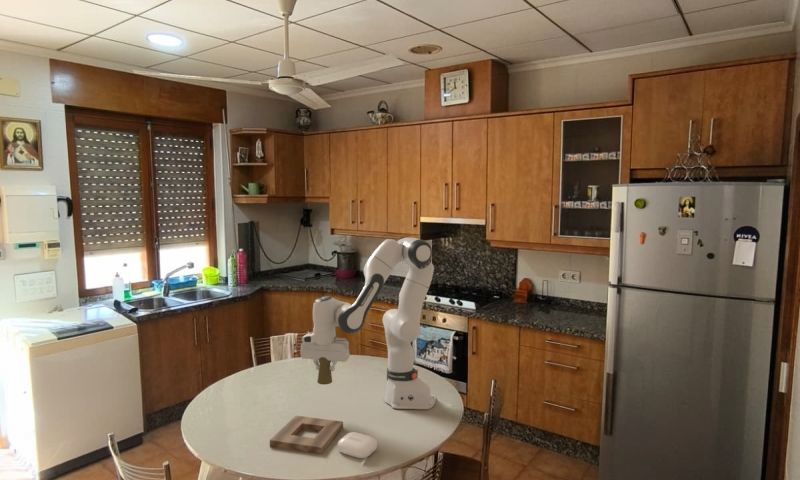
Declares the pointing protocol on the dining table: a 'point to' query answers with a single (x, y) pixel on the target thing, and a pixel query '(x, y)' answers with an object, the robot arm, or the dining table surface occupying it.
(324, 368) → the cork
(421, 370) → the dining table surface
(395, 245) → the robot arm
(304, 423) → the walnut dock
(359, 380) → the dining table surface
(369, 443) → the earbud case
